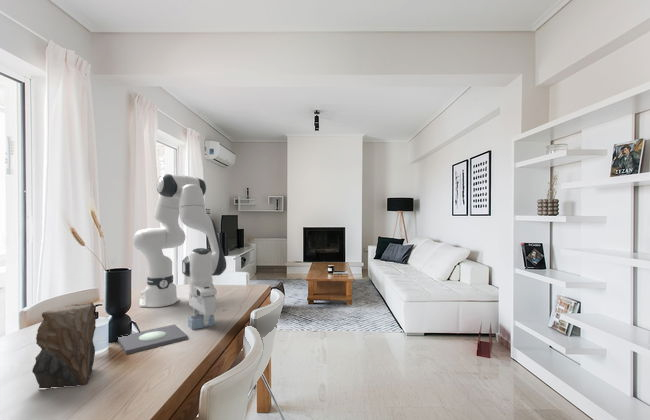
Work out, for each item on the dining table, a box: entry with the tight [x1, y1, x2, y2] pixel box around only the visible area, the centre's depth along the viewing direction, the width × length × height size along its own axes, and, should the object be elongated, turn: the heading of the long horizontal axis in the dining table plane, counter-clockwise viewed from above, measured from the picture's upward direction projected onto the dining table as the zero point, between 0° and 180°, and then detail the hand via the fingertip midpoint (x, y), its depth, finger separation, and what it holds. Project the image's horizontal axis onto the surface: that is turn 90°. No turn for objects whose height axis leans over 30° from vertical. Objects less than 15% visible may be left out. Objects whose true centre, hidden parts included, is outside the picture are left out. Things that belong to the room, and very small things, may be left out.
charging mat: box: [117, 324, 189, 355], centre depth 121 cm, size 16×20×1 cm
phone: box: [187, 313, 215, 330], centre depth 136 cm, size 5×9×4 cm, turn 129°
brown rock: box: [31, 302, 97, 389], centre depth 94 cm, size 13×13×20 cm
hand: (201, 321), depth 136 cm, fingers open, 8 cm apart
